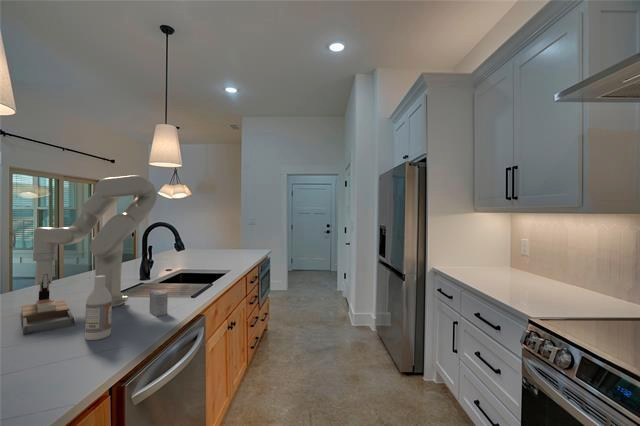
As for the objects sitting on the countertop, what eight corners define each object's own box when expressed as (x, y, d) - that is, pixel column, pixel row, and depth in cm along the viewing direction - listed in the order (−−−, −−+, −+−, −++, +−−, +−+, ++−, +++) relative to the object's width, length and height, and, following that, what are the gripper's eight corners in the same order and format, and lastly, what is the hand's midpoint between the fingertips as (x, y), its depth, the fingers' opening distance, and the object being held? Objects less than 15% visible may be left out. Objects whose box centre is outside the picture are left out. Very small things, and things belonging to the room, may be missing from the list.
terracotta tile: (36, 305, 121) (36, 300, 121) (52, 303, 125) (52, 298, 125) (36, 308, 118) (37, 303, 118) (53, 306, 121) (54, 301, 121)
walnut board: (21, 313, 120) (21, 305, 120) (64, 307, 130) (64, 300, 130) (22, 324, 109) (22, 316, 109) (69, 316, 118) (69, 309, 118)
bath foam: (108, 339, 98) (110, 277, 99) (82, 342, 95) (84, 278, 96) (112, 331, 105) (114, 273, 105) (87, 334, 102) (89, 274, 102)
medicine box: (167, 314, 124) (168, 293, 124) (155, 316, 121) (156, 295, 121) (160, 310, 129) (161, 289, 129) (148, 312, 126) (149, 291, 126)
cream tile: (37, 309, 117) (37, 304, 117) (54, 306, 120) (54, 301, 120) (38, 312, 113) (38, 307, 113) (55, 309, 117) (55, 304, 117)
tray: (22, 324, 109) (23, 317, 109) (69, 316, 118) (69, 310, 118) (23, 334, 100) (24, 326, 100) (73, 325, 110) (74, 318, 110)
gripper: (32, 255, 129) (30, 298, 129) (33, 259, 119) (32, 306, 119) (55, 254, 135) (54, 295, 135) (58, 257, 124) (57, 302, 124)
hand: (43, 300), depth 127 cm, fingers closed
